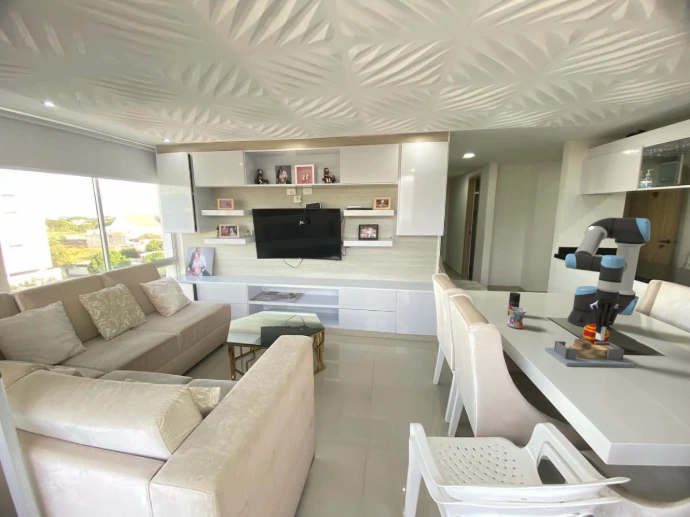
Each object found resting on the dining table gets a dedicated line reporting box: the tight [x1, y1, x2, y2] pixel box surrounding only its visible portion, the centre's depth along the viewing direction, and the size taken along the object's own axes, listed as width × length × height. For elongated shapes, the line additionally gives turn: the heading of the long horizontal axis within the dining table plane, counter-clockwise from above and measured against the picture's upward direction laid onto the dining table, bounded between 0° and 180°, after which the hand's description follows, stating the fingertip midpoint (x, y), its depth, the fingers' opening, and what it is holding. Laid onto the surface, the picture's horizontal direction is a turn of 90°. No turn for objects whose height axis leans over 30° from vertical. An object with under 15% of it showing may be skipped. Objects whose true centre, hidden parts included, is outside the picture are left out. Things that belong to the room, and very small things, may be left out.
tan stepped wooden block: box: [568, 338, 614, 358], centre depth 129 cm, size 18×4×7 cm, turn 89°
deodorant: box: [507, 291, 521, 316], centre depth 182 cm, size 6×6×15 cm
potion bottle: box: [582, 324, 610, 345], centre depth 141 cm, size 10×10×15 cm
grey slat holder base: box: [544, 340, 634, 368], centre depth 129 cm, size 29×14×6 cm, turn 89°
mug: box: [506, 307, 527, 329], centre depth 165 cm, size 12×9×11 cm
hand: (599, 339), depth 128 cm, fingers closed
